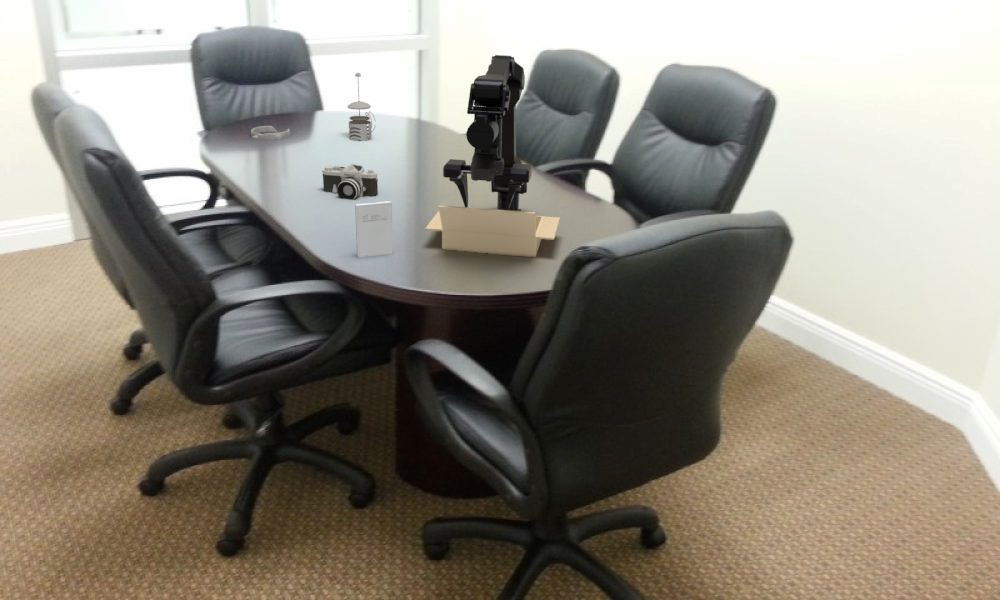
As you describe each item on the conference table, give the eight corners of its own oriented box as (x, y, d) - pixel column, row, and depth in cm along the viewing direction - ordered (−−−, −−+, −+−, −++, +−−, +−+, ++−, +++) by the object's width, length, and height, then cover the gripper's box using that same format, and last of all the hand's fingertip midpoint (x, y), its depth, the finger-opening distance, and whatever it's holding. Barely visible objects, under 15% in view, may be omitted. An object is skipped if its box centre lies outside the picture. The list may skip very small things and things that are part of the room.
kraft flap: (438, 205, 181) (438, 206, 180) (535, 212, 178) (534, 213, 178) (442, 228, 187) (442, 229, 187) (535, 235, 184) (535, 236, 184)
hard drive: (356, 256, 184) (354, 203, 179) (391, 252, 187) (390, 200, 182) (358, 258, 182) (356, 205, 178) (393, 254, 186) (392, 202, 181)
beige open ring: (260, 138, 294) (259, 124, 292) (297, 140, 292) (296, 126, 290) (243, 146, 281) (242, 132, 279) (281, 149, 279) (280, 134, 277)
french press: (360, 141, 294) (357, 70, 284) (384, 145, 287) (382, 73, 278) (340, 145, 286) (337, 72, 276) (364, 150, 280) (361, 76, 270)
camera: (315, 200, 223) (312, 165, 220) (327, 192, 231) (325, 157, 227) (369, 205, 221) (368, 169, 217) (380, 197, 229) (379, 162, 225)
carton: (440, 227, 204) (440, 208, 202) (558, 236, 200) (560, 217, 198) (425, 248, 190) (425, 228, 188) (552, 258, 186) (554, 238, 184)
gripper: (437, 144, 167) (437, 216, 174) (526, 149, 165) (524, 223, 171) (448, 133, 177) (448, 201, 184) (533, 138, 175) (530, 207, 181)
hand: (486, 208), depth 180 cm, fingers open, 9 cm apart
